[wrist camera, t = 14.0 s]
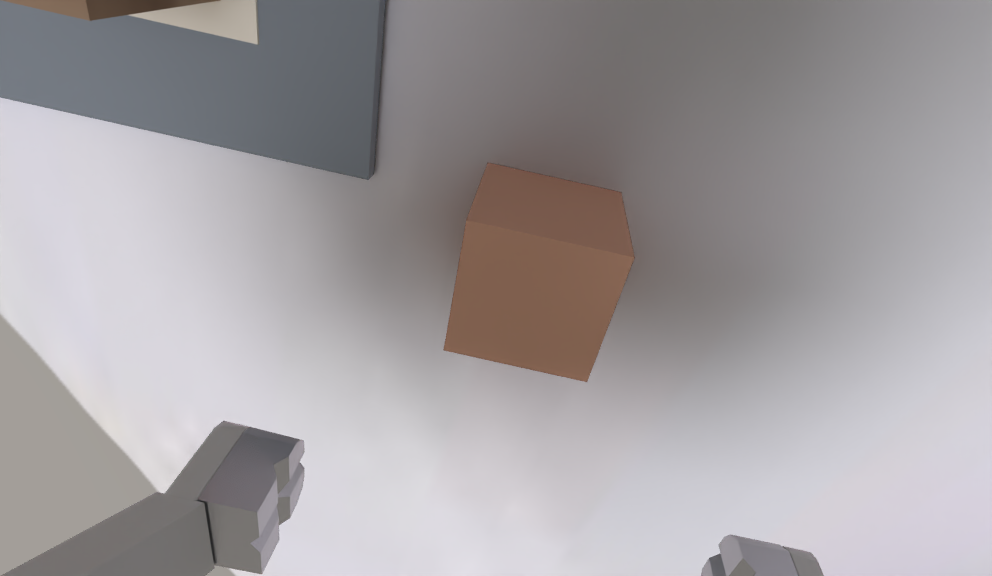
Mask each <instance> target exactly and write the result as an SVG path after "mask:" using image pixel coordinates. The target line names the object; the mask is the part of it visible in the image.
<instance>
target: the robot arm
mask: <svg viewBox="0 0 992 576" xmlns="http://www.w3.org/2000/svg"><path fill="white" fill-rule="evenodd" d="M303 454H304V440H300V439H296V438H292V437H288V436H284V435H280V434H276V433H272V432H268V431H264V430H260V429H256V428H252V427H248V426H244V425H240V424H235V423H231V422H227V421H223V422H221V423H220V424H219V425H217V426H216V427H215V428H214V429H213V430H212V432H211V433H210V434H209V436H208V437H207V438H206V440H205V441H204V442H203V444H202V445H201V446H200V448H199V449H198V450H197V452H196V453H195V454H194V456H193V457H192V458H191V459H190V461H189V462H188V463H187V465H186V466H185V467H184V469H183V470H182V471H181V473H180V474H179V475H178V477H177V478H176V479H175V481H174V482H173V483H172V485H171V486H170V487H169V489H168V490H167V491H166V493H159V492H156V493H154V494H152V495H150V496H148V497H146V498H144V499H143V500H141V501H139V502H137V503H135V504H134V505H131V506H130V507H128V508H126V509H124V510H122V511H120V512H119V513H117V514H115V515H113V516H111V517H109V518H107V519H105V520H103V521H102V522H100V523H98V524H96V525H94V526H92V527H90V528H89V529H87V530H85V531H83V532H81V533H79V534H78V535H76V536H74V537H72V538H70V539H68V540H66V541H64V542H63V543H61V544H59V545H57V546H55V547H54V548H51V549H50V550H48V551H46V552H44V553H42V554H40V555H38V556H37V557H35V558H33V559H31V560H29V561H28V562H25V563H24V564H22V565H20V566H18V567H16V568H14V569H12V570H11V571H9V572H7V573H5V574H3V575H1V576H205V575H207V574H208V573H209V572H210V571H212V570H213V569H214V565H216V566H222V567H227V568H232V569H237V570H242V571H248V572H253V573H258V574H262V573H263V571H264V569H265V567H266V565H267V563H268V561H269V559H270V557H271V555H272V553H273V551H274V549H275V547H276V545H277V543H278V541H279V525H280V524H282V523H283V522H285V521H286V520H288V519H289V518H290V517H291V515H292V513H293V511H294V509H295V507H296V505H297V502H298V499H299V496H300V493H301V490H302V487H303V481H304V467H303V465H302V464H301V463H300V460H301V458H302V456H303ZM719 549H720V553H721V554H718V555H716V556H713V557H711V558H709V559H708V560H707V562H706V564H705V565H704V567H703V568H702V573H701V576H824V575H823V573H822V570H821V568H820V566H819V563H818V561H817V559H816V558H815V557H814V556H813V554H812V553H810V552H807V551H803V550H798V549H794V548H789V547H784V546H781V545H778V544H774V543H769V542H764V541H759V540H754V539H750V538H745V537H740V536H735V535H728V536H726V537H724V538H723V539H722V541H721V542H720V543H719Z"/></svg>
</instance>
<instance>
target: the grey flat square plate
mask: <svg viewBox="0 0 992 576" xmlns="http://www.w3.org/2000/svg"><path fill="white" fill-rule="evenodd" d="M384 15H385V0H220V1H214V2H207V3H201V4H194V5H188V6H182V7H175V8H169V9H162V10H156V11H150V12H143V13H137V14H130V15H124V16H118V17H111V18H105V19H98V20H92V21H88V20H84V19H80V18H75V17H71V16H67V15H62V14H58V13H54V12H49V11H45V10H41V9H36V8H32V7H28V6H23V5H19V4H15V3H10V2H6V1H2V0H0V97H1V98H6V99H10V100H14V101H19V102H23V103H28V104H32V105H37V106H41V107H46V108H50V109H55V110H59V111H64V112H68V113H72V114H77V115H81V116H86V117H90V118H95V119H99V120H104V121H108V122H113V123H117V124H121V125H126V126H130V127H135V128H139V129H144V130H148V131H153V132H157V133H162V134H166V135H171V136H175V137H179V138H184V139H188V140H193V141H197V142H202V143H206V144H211V145H215V146H220V147H224V148H229V149H233V150H237V151H242V152H246V153H251V154H255V155H260V156H264V157H269V158H273V159H278V160H282V161H286V162H291V163H295V164H300V165H304V166H309V167H313V168H318V169H322V170H327V171H331V172H336V173H340V174H344V175H349V176H353V177H358V178H362V179H367V180H369V178H370V177H371V176H372V175H373V174H374V163H375V148H376V133H377V118H378V103H379V89H380V74H381V59H382V44H383V30H384Z"/></svg>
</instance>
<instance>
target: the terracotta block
mask: <svg viewBox="0 0 992 576" xmlns="http://www.w3.org/2000/svg"><path fill="white" fill-rule="evenodd" d="M634 258H635V257H634V252H633V247H632V242H631V238H630V233H629V228H628V223H627V218H626V213H625V209H624V204H623V199H622V194H621V192H618V191H613V190H609V189H604V188H600V187H595V186H591V185H586V184H582V183H577V182H573V181H569V180H564V179H560V178H555V177H551V176H546V175H542V174H537V173H533V172H528V171H524V170H519V169H515V168H510V167H506V166H501V165H497V164H492V163H487V166H486V169H485V171H484V174H483V177H482V179H481V182H480V185H479V187H478V190H477V193H476V195H475V198H474V201H473V203H472V206H471V209H470V211H469V214H468V217H467V219H466V224H465V230H464V236H463V242H462V247H461V253H460V259H459V265H458V270H457V276H456V282H455V288H454V293H453V299H452V305H451V311H450V316H449V322H448V328H447V333H446V339H445V345H444V350H445V351H449V352H454V353H458V354H463V355H467V356H472V357H476V358H481V359H485V360H490V361H494V362H499V363H503V364H508V365H512V366H517V367H521V368H526V369H530V370H535V371H539V372H544V373H548V374H553V375H557V376H562V377H567V378H571V379H576V380H580V381H585V382H587V381H588V378H589V375H590V373H591V370H592V368H593V365H594V362H595V360H596V357H597V354H598V352H599V349H600V347H601V344H602V341H603V339H604V336H605V334H606V331H607V328H608V326H609V323H610V321H611V318H612V315H613V313H614V310H615V308H616V305H617V302H618V300H619V297H620V294H621V292H622V289H623V287H624V284H625V281H626V279H627V276H628V274H629V271H630V268H631V266H632V263H633V261H634Z"/></svg>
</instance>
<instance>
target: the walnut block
mask: <svg viewBox="0 0 992 576" xmlns="http://www.w3.org/2000/svg"><path fill="white" fill-rule="evenodd" d="M2 1H6V2H10V3H15V4H19V5H23V6H28V7H32V8H36V9H41V10H45V11H49V12H54V13H58V14H62V15H67V16H71V17H75V18H80V19H84V20H88V21H92V20H98V19H105V18H111V17H118V16H124V15H130V14H137V13H143V12H150V11H156V10H162V9H169V8H175V7H182V6H188V5H194V4H201V3H207V2H214V1H220V0H2Z"/></svg>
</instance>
